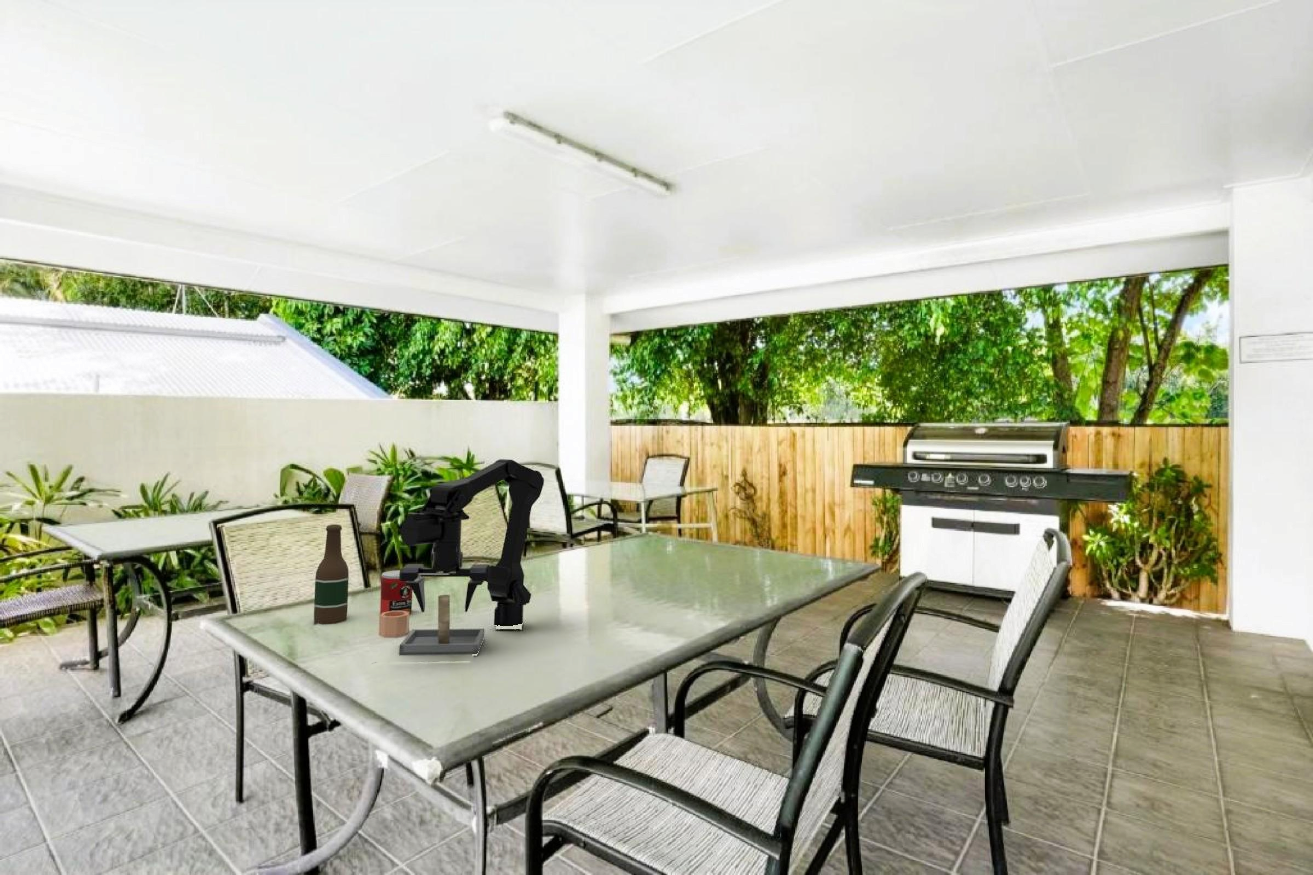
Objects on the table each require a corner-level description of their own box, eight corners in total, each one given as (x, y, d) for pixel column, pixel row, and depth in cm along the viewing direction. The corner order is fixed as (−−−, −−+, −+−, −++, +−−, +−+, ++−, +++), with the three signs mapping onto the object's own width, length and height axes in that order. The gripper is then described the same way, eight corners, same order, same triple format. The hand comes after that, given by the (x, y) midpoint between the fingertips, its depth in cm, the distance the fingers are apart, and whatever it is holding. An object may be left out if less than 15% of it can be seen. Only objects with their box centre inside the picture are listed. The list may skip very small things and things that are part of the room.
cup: (410, 631, 155) (411, 610, 155) (404, 638, 149) (405, 617, 149) (383, 631, 154) (384, 610, 155) (376, 639, 148) (377, 617, 149)
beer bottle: (338, 626, 157) (341, 527, 158) (306, 625, 157) (310, 526, 158) (353, 618, 165) (357, 523, 165) (323, 617, 165) (326, 522, 166)
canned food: (390, 621, 164) (392, 577, 164) (373, 615, 169) (375, 572, 169) (417, 615, 170) (419, 573, 170) (400, 610, 175) (402, 569, 175)
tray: (484, 639, 151) (484, 628, 151) (477, 656, 139) (477, 644, 139) (412, 640, 149) (412, 629, 149) (399, 657, 137) (399, 645, 137)
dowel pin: (450, 641, 145) (450, 594, 145) (448, 644, 143) (448, 597, 142) (439, 641, 145) (439, 594, 145) (437, 645, 142) (437, 597, 142)
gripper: (494, 536, 153) (492, 602, 153) (411, 535, 151) (409, 602, 151) (488, 543, 142) (486, 614, 142) (399, 542, 140) (397, 615, 140)
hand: (444, 611), depth 144 cm, fingers open, 9 cm apart
